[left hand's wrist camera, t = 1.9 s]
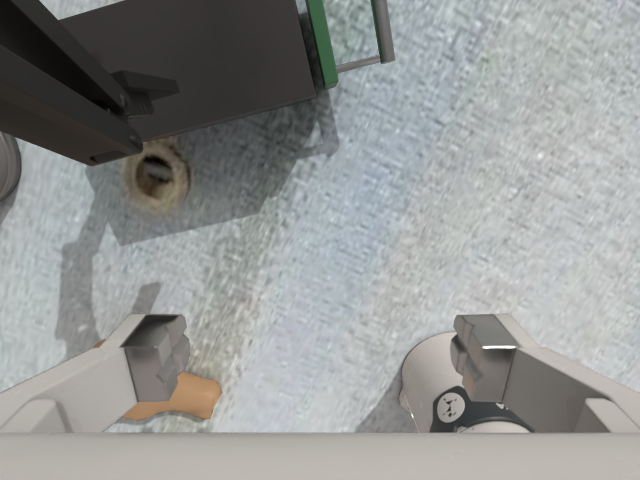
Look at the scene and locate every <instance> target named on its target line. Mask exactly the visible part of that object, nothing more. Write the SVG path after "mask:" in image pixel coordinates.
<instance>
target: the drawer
mask: <svg viewBox="0 0 640 480" xmlns="http://www.w3.org/2000/svg"><path fill="white" fill-rule="evenodd" d="M305 1H306V6H307V10H308V15H309V20H310V24H311V29H312V34H313V38H314V43H315V47H316V52H317V57H318V61H319V66H320V70H321V75H322V80H323V84H324V89H329V88H333V87H335V86H336V84H337V83H338V76H337V73H341V72H345V71H349V70H352V69H356V68H360V67H364V66H367V65H371V64H375V63H379V62H381V64H385V63H389V62H392V61H394V60H395V55H394V48H393V41H392V34H391V28H390V21H389V14H388V7H387V0H371V6H372V12H373V18H374V24H375V31H376V37H377V43H378V49H379V55H376V56H372V57H368V58H365V59H361V60H357V61H353V62H350V63H346V64H342V65H338V66H335V61H334V56H333V51H332V46H331V41H330V36H329V31H328V26H327V21H326V16H325V11H324V6H323V1H322V0H305Z"/></svg>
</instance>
